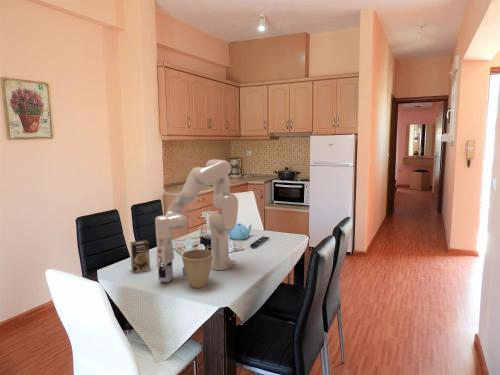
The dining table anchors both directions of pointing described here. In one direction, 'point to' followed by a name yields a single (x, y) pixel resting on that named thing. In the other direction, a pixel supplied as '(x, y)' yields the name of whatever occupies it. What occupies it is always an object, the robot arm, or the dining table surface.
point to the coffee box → (140, 256)
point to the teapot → (239, 232)
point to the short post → (184, 271)
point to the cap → (167, 273)
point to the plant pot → (197, 266)
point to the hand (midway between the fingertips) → (165, 274)
